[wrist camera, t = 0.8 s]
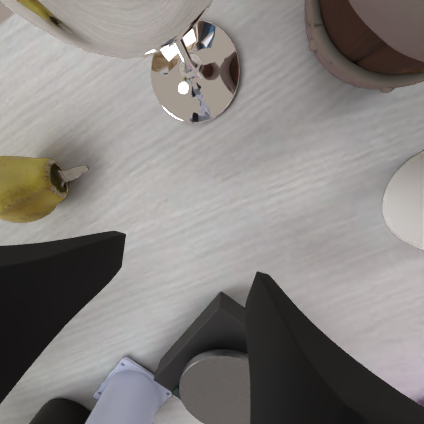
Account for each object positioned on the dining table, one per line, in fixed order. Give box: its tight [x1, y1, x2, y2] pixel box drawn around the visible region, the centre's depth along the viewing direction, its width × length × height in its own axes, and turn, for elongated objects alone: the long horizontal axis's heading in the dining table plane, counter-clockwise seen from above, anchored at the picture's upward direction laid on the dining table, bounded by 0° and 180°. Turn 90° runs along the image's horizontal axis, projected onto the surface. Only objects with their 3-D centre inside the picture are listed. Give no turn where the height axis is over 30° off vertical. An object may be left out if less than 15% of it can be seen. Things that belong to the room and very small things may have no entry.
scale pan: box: [179, 349, 250, 424], centre depth 20 cm, size 10×10×1 cm
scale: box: [153, 292, 248, 399], centre depth 22 cm, size 13×12×3 cm
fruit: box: [0, 156, 89, 223], centre depth 18 cm, size 6×6×10 cm
